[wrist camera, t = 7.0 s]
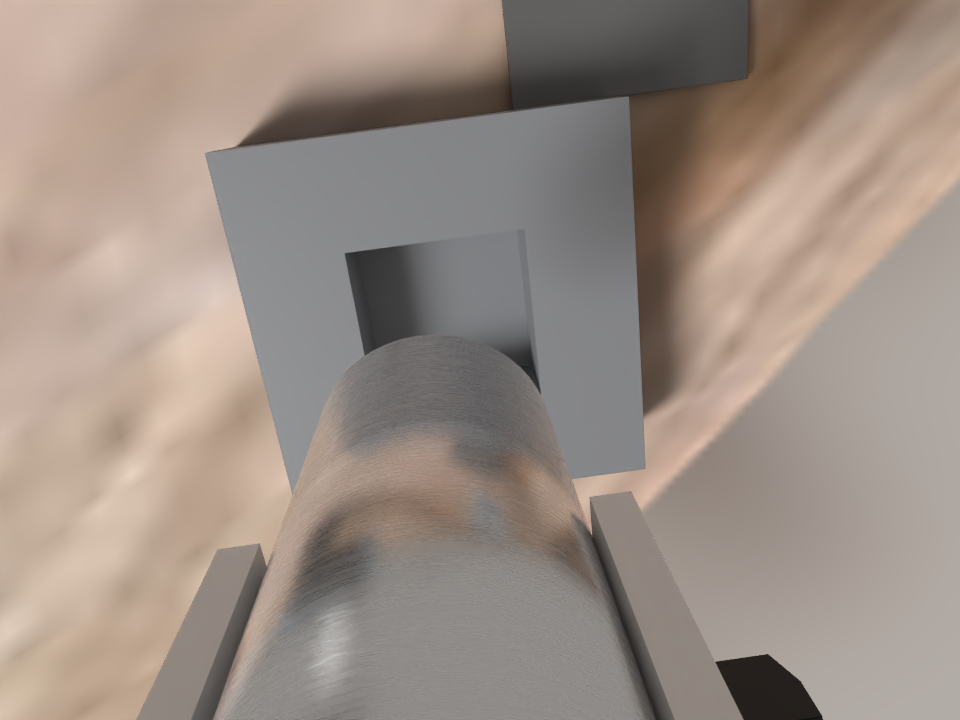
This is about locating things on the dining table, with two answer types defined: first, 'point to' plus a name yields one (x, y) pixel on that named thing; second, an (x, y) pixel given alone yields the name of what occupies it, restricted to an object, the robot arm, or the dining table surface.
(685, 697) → the robot arm
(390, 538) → the end cap
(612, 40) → the mat
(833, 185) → the dining table surface
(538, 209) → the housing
